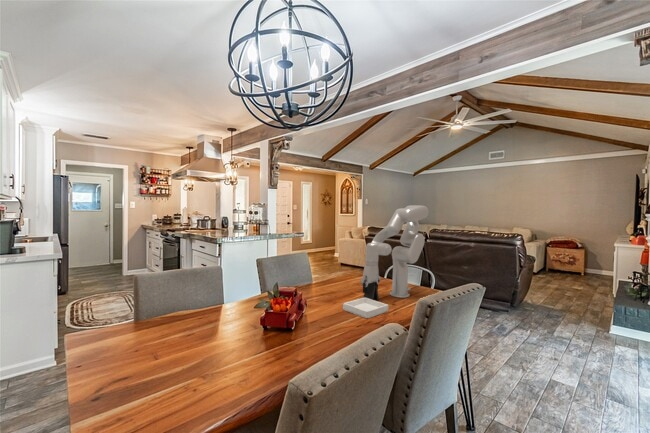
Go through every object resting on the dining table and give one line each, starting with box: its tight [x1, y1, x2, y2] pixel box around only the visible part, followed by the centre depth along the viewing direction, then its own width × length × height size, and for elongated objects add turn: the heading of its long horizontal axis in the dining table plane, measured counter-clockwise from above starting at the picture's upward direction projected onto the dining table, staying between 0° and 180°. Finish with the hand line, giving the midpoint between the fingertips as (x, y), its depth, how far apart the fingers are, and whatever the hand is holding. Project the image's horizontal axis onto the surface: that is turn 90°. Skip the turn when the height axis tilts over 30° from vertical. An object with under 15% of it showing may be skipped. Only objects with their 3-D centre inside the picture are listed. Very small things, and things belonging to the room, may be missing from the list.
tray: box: [342, 296, 390, 320], centre depth 164 cm, size 18×17×4 cm
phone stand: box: [362, 282, 380, 301], centre depth 182 cm, size 9×6×12 cm, turn 140°
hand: (370, 291), depth 181 cm, fingers open, 9 cm apart
